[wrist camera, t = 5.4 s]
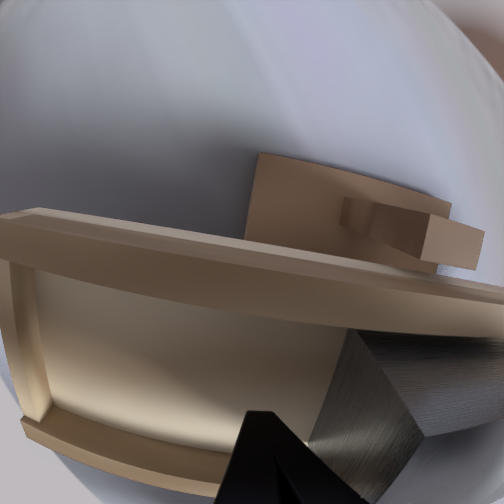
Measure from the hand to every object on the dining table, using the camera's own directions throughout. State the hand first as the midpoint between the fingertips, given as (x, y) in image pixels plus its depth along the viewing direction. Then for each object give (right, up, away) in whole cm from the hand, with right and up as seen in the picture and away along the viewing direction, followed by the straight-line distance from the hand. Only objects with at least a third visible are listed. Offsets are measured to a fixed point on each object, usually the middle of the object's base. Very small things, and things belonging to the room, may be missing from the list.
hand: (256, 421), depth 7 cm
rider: (+6, 0, +2) cm, 6 cm away
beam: (+4, 0, +2) cm, 5 cm away
